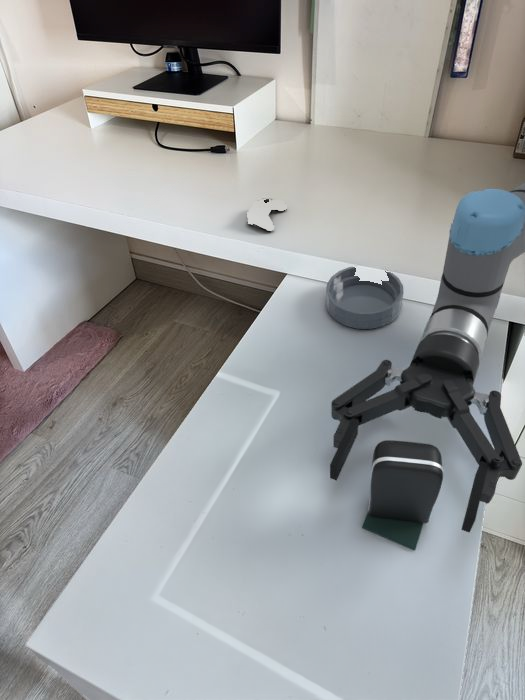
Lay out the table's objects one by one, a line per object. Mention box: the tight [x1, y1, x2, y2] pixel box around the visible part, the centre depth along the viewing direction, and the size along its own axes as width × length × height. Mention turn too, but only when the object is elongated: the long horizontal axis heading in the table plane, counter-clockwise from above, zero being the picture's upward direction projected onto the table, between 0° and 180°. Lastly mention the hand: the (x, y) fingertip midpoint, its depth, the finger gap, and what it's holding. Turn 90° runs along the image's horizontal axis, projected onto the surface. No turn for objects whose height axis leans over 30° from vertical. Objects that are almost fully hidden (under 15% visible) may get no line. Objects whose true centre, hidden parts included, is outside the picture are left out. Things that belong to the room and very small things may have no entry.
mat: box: [361, 510, 424, 551], centre depth 58 cm, size 6×8×1 cm
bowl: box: [325, 266, 404, 330], centre depth 81 cm, size 12×12×4 cm
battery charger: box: [367, 439, 445, 524], centre depth 54 cm, size 7×4×11 cm, turn 79°
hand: (397, 498), depth 50 cm, fingers open, 13 cm apart
